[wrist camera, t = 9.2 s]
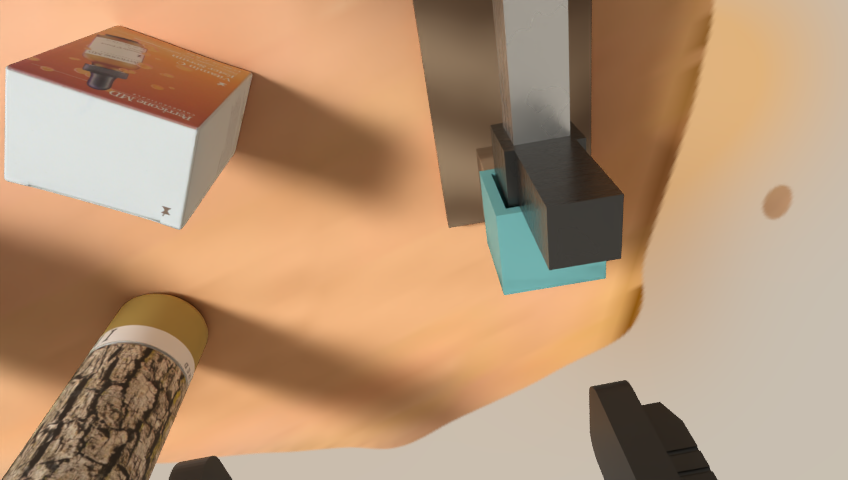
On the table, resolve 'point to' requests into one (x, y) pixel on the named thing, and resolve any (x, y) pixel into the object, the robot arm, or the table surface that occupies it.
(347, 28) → the table surface
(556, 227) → the grey block with post
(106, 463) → the paper tube
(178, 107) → the small box
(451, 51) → the rig base
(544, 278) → the socket
